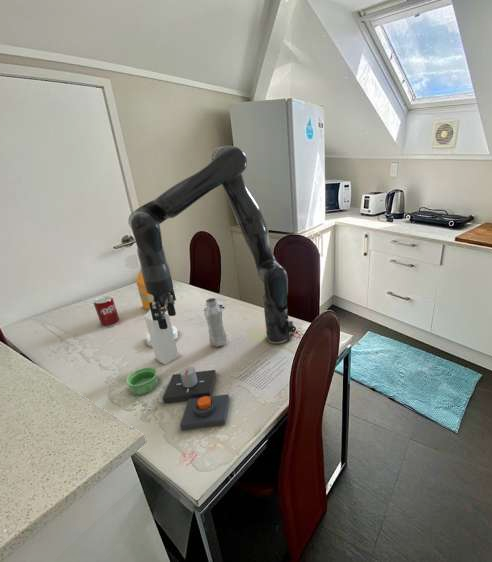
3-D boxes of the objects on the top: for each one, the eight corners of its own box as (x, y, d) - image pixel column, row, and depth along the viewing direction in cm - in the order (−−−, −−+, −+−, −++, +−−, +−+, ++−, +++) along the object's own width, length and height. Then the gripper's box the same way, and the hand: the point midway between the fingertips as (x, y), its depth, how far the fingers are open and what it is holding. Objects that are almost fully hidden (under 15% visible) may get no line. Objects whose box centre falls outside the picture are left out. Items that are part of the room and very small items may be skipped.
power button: (212, 399, 94) (211, 395, 93) (210, 408, 91) (209, 404, 90) (199, 401, 93) (198, 396, 93) (197, 410, 90) (196, 406, 89)
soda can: (97, 325, 141) (89, 301, 136) (112, 317, 147) (105, 295, 142) (108, 328, 139) (100, 304, 134) (123, 320, 145) (116, 297, 140)
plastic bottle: (222, 349, 123) (214, 304, 115) (207, 347, 124) (198, 303, 116) (230, 340, 129) (223, 297, 121) (215, 338, 130) (207, 295, 122)
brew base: (216, 375, 109) (215, 369, 108) (210, 398, 99) (209, 391, 98) (174, 380, 107) (172, 374, 106) (164, 404, 97) (162, 397, 96)
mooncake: (168, 328, 138) (167, 321, 137) (184, 336, 132) (182, 329, 130) (141, 341, 129) (139, 333, 128) (156, 350, 123) (154, 343, 121)
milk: (171, 351, 123) (158, 301, 114) (179, 357, 119) (167, 305, 111) (155, 359, 118) (141, 307, 109) (164, 365, 115) (149, 312, 106)
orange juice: (158, 301, 162) (149, 265, 154) (167, 306, 157) (158, 269, 149) (142, 307, 156) (132, 270, 148) (151, 312, 151) (141, 274, 143)
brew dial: (185, 379, 104) (181, 366, 102) (198, 377, 105) (196, 364, 102) (181, 388, 100) (178, 375, 98) (195, 386, 101) (192, 373, 98)
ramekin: (127, 399, 99) (124, 388, 98) (131, 381, 107) (127, 371, 105) (158, 391, 103) (155, 380, 101) (160, 374, 110) (157, 364, 108)
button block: (229, 399, 99) (227, 389, 97) (225, 425, 90) (223, 414, 88) (190, 404, 97) (187, 394, 96) (181, 430, 88) (178, 420, 86)
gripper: (161, 284, 90) (173, 332, 96) (176, 267, 103) (186, 310, 109) (134, 286, 89) (148, 334, 95) (152, 268, 102) (163, 312, 108)
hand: (168, 321), depth 102 cm, fingers open, 8 cm apart
